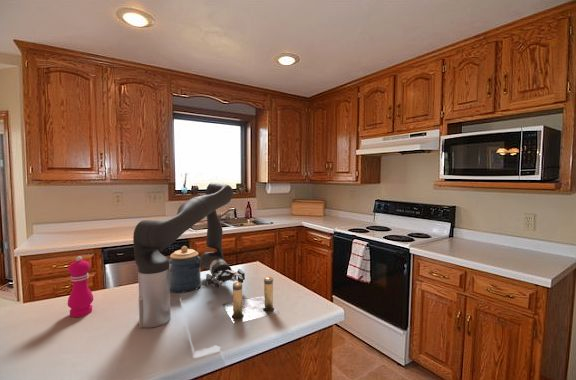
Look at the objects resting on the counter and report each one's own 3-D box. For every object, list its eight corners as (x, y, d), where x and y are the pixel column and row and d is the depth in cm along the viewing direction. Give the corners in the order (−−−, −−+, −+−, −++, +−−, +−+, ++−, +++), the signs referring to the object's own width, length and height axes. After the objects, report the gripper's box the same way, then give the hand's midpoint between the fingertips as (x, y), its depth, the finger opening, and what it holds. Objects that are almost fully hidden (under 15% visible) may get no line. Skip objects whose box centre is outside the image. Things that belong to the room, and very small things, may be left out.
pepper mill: (91, 306, 103) (89, 252, 102) (95, 313, 98) (93, 256, 96) (66, 312, 98) (64, 256, 97) (69, 320, 93) (67, 260, 91)
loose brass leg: (234, 319, 91) (234, 286, 91) (232, 315, 94) (231, 282, 93) (243, 317, 93) (243, 284, 92) (241, 313, 95) (240, 281, 95)
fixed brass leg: (266, 312, 96) (266, 280, 95) (262, 308, 99) (262, 277, 98) (274, 310, 97) (274, 279, 97) (271, 306, 100) (270, 276, 99)
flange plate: (233, 327, 89) (233, 323, 88) (222, 307, 102) (222, 304, 102) (279, 316, 96) (279, 312, 96) (263, 298, 109) (263, 295, 109)
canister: (200, 279, 129) (200, 241, 128) (201, 290, 116) (200, 248, 115) (170, 283, 124) (169, 243, 123) (167, 295, 112) (166, 251, 111)
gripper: (202, 263, 114) (210, 276, 100) (236, 258, 121) (248, 270, 106) (202, 281, 115) (210, 297, 100) (237, 276, 121) (248, 290, 107)
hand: (230, 283), depth 103 cm, fingers open, 8 cm apart
